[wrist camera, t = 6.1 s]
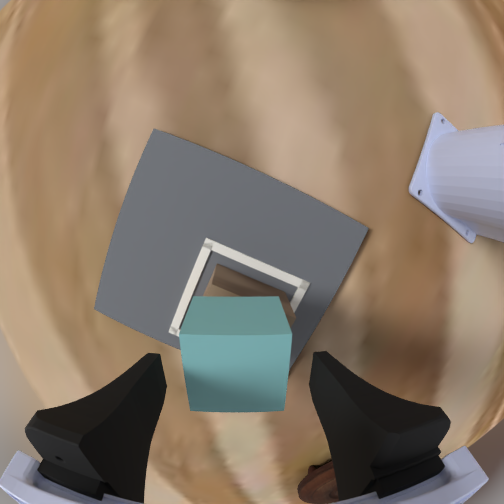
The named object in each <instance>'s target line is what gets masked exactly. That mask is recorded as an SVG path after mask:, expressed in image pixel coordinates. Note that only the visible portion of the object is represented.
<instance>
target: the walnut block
mask: <svg viewBox="0 0 504 504" xmlns="http://www.w3.org/2000/svg"><path fill="white" fill-rule="evenodd" d="M203 296H208V297H268V296H279V299H280V301H281V304H282V307H283V310H284V312H285V315H286V318H287V321H288V323H289V326H290V328H291V327H292V325H293V323H294V321H295V320H296V316H295V314H294V312H293V309H292V307H291V305H290V302H289V300H288V298H287V296H286V293H285V292H284V291H282V290H279V289H277V288H274V287H272V286H270V285H267V284H265V283H262V282H260V281H258V280H255V279H253V278H250V277H248V276H246V275H243V274H241V273H239V272H236V271H234V270H232V269H229V268H227V267H225V266H222V265H220V264H218V263H217V265H216V267H215V269H214V271H213V274H212V276H211V278H210V281H209V283H208V285H207V287H206V290H205V292H204V294H203ZM181 356H182V355H181Z"/></svg>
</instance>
